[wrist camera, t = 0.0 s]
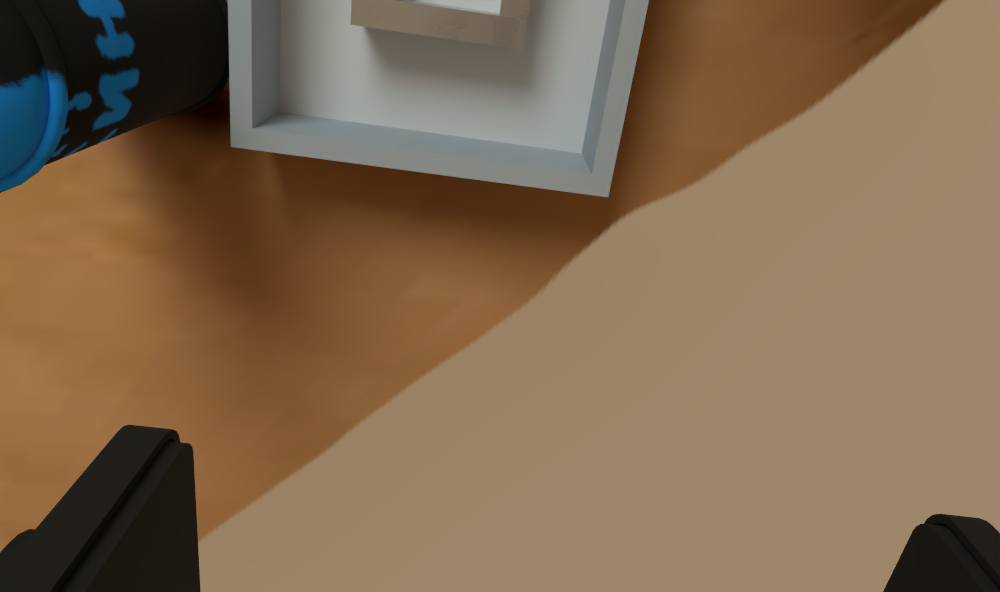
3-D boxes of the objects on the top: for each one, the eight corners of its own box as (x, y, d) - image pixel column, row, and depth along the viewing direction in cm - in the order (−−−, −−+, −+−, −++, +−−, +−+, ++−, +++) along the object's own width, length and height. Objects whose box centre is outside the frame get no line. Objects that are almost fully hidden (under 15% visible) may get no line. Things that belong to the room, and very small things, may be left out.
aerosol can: (53, 62, 36) (-396, 144, 18) (101, -95, 33) (-376, -184, 15) (204, 142, 38) (-67, 291, 20) (262, 0, 35) (8, 21, 17)
